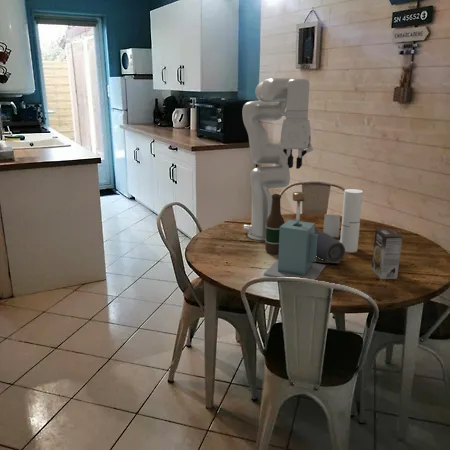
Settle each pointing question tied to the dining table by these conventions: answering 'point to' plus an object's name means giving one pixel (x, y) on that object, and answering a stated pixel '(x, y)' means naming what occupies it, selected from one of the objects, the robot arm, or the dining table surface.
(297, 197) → the shiny round knob
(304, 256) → the teal block
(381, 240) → the coffee box
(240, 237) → the dining table surface
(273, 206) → the beer bottle
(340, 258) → the bluetooth speaker
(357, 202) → the cylindrical container
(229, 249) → the dining table surface
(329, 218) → the light grey block
